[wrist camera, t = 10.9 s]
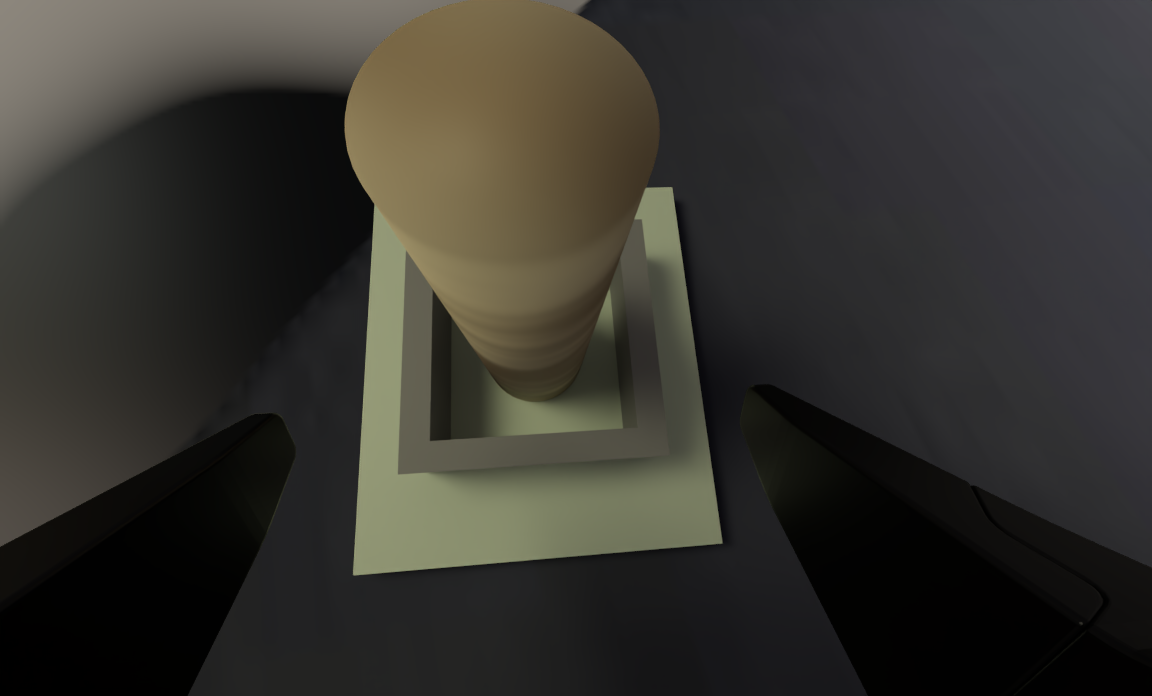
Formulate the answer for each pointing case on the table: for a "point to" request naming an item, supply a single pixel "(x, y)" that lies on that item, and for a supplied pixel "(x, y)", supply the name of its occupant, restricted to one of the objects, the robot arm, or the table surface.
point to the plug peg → (508, 173)
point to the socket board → (533, 425)
